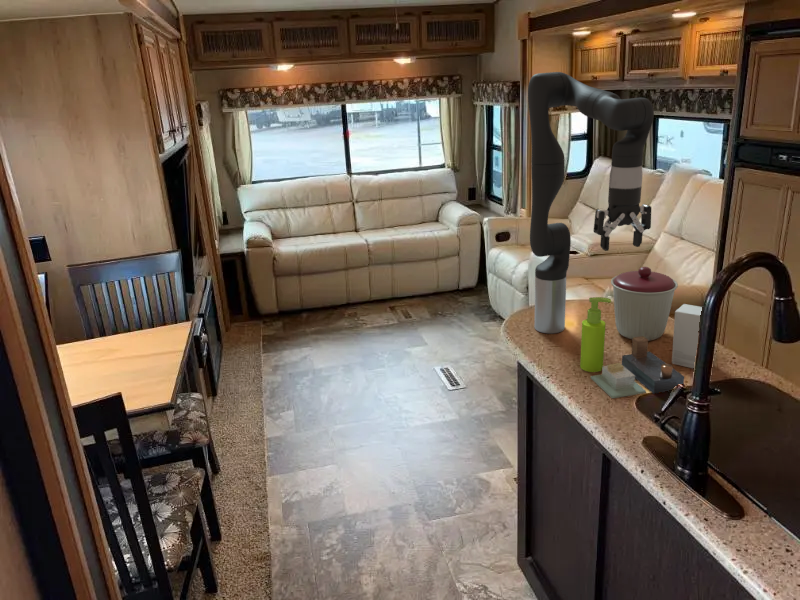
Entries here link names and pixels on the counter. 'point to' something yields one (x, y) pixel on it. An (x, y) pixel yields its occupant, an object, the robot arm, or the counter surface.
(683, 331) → the skincare box
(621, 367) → the lever cap
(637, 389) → the rubber mat
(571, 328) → the counter surface
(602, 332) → the soap dispenser
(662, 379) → the hand plane
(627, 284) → the canister
